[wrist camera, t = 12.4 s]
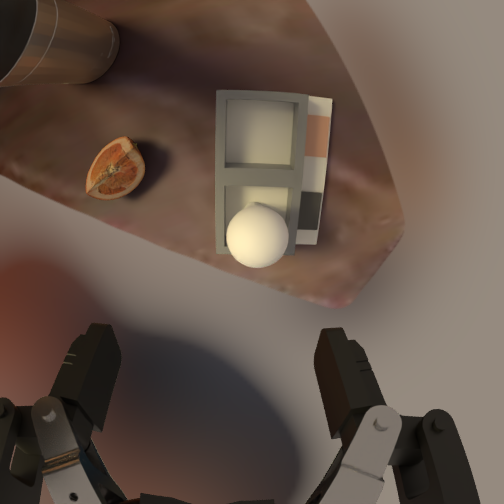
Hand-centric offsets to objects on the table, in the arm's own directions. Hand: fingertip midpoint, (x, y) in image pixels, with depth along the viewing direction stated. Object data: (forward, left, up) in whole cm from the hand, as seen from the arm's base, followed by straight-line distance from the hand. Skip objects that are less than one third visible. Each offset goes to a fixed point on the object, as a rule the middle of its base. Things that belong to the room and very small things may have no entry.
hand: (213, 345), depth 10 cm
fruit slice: (-14, +1, -28) cm, 31 cm away
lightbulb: (+3, -5, -27) cm, 27 cm away
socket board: (+5, 0, -27) cm, 28 cm away
